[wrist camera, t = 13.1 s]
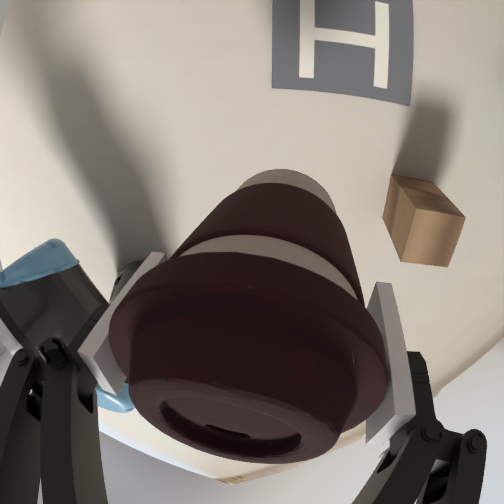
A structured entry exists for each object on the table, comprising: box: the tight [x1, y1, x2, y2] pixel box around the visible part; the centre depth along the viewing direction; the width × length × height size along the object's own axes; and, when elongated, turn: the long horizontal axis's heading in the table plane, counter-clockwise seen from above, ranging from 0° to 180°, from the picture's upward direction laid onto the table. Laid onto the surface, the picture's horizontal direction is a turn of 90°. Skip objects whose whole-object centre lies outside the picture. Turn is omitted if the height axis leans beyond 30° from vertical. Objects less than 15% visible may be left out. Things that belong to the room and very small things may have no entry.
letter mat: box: [272, 0, 413, 106], centre depth 24 cm, size 16×14×1 cm
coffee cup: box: [108, 169, 388, 464], centre depth 14 cm, size 10×10×15 cm
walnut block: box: [383, 175, 466, 267], centre depth 29 cm, size 6×6×10 cm
